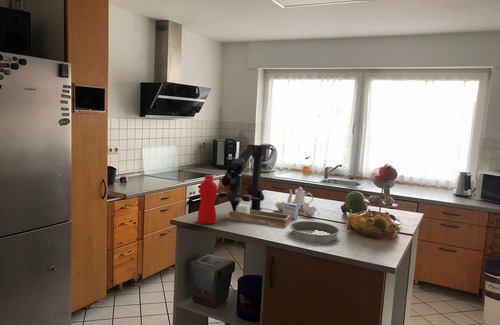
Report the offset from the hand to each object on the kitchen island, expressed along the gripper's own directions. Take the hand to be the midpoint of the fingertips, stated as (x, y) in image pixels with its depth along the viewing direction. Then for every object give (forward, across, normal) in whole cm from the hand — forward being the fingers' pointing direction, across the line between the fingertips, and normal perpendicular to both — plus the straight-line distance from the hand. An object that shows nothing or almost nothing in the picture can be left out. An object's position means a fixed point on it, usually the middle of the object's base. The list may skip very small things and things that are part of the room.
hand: (234, 211), depth 219 cm
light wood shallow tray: (+3, +15, 0) cm, 16 cm away
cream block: (+1, +5, 0) cm, 5 cm away
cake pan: (+4, +47, -13) cm, 49 cm away
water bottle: (+3, -8, -18) cm, 20 cm away
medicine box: (+3, +29, +14) cm, 33 cm away
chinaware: (+3, +30, +30) cm, 42 cm away
